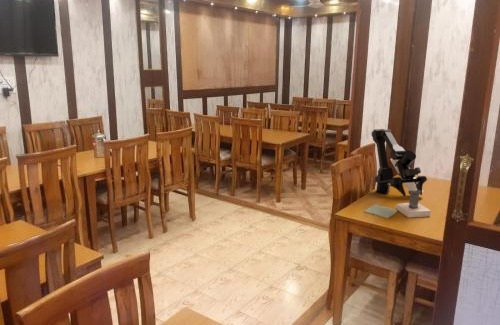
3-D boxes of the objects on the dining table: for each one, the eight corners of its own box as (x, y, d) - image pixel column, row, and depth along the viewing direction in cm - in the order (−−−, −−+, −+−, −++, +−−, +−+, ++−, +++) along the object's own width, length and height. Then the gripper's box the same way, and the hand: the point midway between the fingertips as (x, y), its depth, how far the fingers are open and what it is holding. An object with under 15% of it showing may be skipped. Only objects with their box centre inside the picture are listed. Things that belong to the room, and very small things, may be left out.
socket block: (396, 208, 210) (396, 203, 209) (416, 207, 211) (417, 202, 211) (408, 217, 198) (408, 212, 197) (429, 216, 200) (430, 210, 199)
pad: (363, 212, 206) (364, 210, 206) (374, 205, 215) (374, 204, 215) (387, 218, 197) (387, 217, 197) (397, 211, 207) (398, 210, 206)
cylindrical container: (422, 190, 229) (401, 153, 231) (424, 192, 222) (401, 154, 224) (411, 195, 231) (389, 159, 233) (412, 197, 224) (390, 160, 226)
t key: (405, 211, 206) (408, 190, 203) (416, 211, 207) (418, 189, 204) (408, 213, 203) (411, 192, 200) (419, 213, 204) (422, 191, 201)
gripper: (394, 162, 203) (403, 189, 195) (427, 161, 206) (437, 187, 198) (385, 173, 213) (394, 198, 205) (417, 171, 215) (426, 196, 208)
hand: (413, 195), depth 204 cm, fingers open, 9 cm apart
